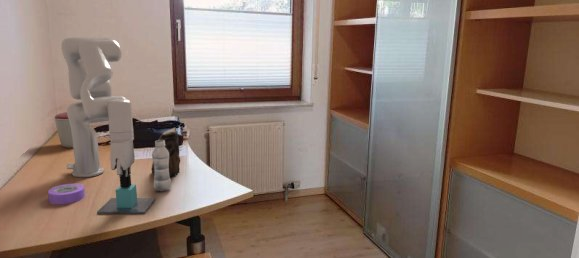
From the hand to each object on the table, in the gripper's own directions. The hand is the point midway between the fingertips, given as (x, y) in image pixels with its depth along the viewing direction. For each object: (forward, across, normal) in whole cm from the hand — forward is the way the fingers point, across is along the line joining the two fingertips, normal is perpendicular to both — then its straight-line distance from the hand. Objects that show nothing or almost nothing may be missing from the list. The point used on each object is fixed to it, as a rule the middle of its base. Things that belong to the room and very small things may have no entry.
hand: (125, 186), depth 140 cm
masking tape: (+8, -8, -25) cm, 28 cm away
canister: (+8, -82, -58) cm, 101 cm away
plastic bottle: (+8, -16, +8) cm, 20 cm away
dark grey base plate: (+8, 0, 0) cm, 8 cm away
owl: (+8, -36, +4) cm, 37 cm away
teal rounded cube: (+7, 0, 0) cm, 7 cm away
